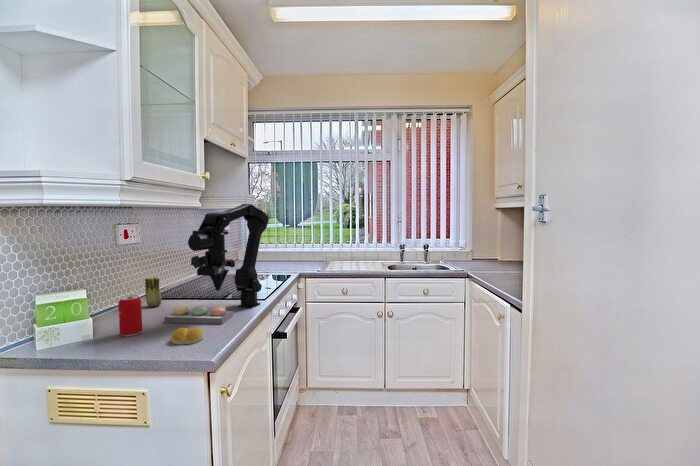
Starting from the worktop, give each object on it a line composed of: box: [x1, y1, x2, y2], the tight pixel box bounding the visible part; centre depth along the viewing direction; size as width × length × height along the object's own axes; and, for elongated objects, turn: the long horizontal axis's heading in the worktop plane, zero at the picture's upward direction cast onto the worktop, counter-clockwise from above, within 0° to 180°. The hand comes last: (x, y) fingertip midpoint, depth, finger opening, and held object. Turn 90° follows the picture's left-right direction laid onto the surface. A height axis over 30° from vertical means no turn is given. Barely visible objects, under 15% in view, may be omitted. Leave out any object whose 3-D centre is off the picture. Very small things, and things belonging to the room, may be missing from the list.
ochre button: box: [172, 305, 189, 315], centre depth 129 cm, size 5×5×2 cm
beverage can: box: [117, 294, 143, 338], centre depth 114 cm, size 6×6×12 cm
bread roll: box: [170, 327, 205, 345], centre depth 109 cm, size 8×9×4 cm
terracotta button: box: [210, 306, 227, 316], centre depth 128 cm, size 5×5×2 cm
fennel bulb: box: [144, 277, 162, 308], centre depth 146 cm, size 6×5×12 cm
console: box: [163, 309, 234, 325], centre depth 129 cm, size 9×21×2 cm, turn 85°
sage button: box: [191, 305, 208, 316], centre depth 129 cm, size 5×5×2 cm
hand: (218, 290), depth 130 cm, fingers closed
